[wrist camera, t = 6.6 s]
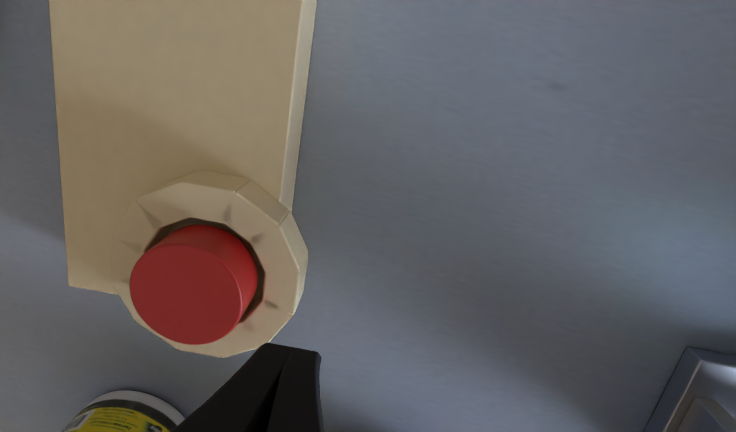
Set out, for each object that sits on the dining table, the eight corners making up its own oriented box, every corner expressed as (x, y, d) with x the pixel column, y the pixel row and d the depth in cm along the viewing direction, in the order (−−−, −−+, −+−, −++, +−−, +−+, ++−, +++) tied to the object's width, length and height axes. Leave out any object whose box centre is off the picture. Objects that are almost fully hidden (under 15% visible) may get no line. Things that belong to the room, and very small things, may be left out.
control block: (307, 311, 20) (286, 370, 16) (106, 275, 20) (37, 325, 16) (361, -59, 15) (350, -101, 11) (92, -109, 15) (-12, -169, 11)
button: (254, 324, 16) (238, 355, 14) (156, 306, 16) (129, 335, 14) (263, 233, 15) (246, 255, 13) (157, 214, 15) (127, 233, 13)
